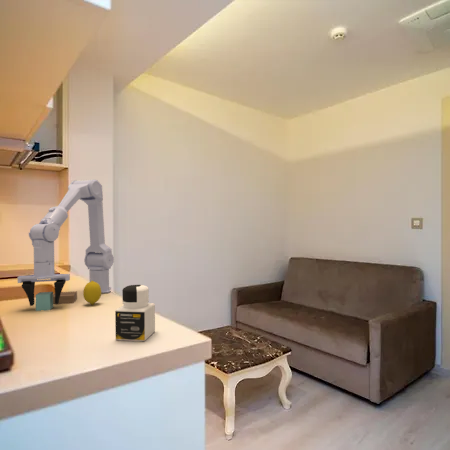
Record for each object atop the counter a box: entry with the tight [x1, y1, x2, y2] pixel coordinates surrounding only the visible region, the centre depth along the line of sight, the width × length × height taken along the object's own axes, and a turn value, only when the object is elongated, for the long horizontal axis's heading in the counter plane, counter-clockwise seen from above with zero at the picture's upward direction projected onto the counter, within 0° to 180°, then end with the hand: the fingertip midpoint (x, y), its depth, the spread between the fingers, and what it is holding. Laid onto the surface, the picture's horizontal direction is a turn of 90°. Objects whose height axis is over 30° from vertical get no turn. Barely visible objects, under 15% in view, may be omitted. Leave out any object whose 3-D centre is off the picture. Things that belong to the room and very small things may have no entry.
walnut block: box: [53, 290, 78, 306], centre depth 115 cm, size 7×7×3 cm
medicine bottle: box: [114, 284, 156, 342], centre depth 79 cm, size 7×7×12 cm
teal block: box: [35, 291, 54, 312], centre depth 105 cm, size 4×4×5 cm
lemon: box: [82, 281, 102, 306], centre depth 110 cm, size 6×6×8 cm
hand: (44, 304), depth 105 cm, fingers open, 6 cm apart
